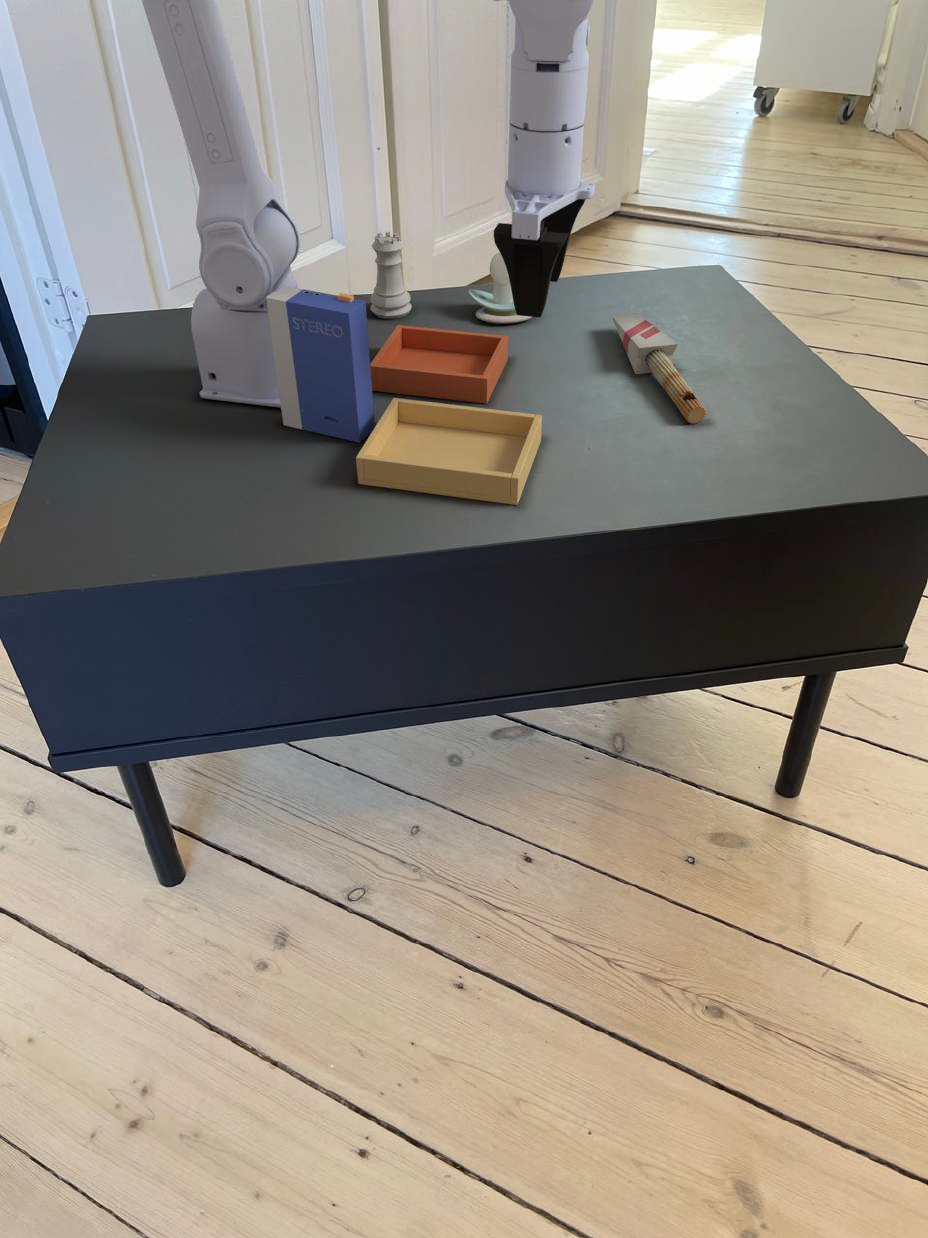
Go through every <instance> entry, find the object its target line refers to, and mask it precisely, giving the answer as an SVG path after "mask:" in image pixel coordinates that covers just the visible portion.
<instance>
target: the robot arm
mask: <svg viewBox="0 0 928 1238" xmlns="http://www.w3.org/2000/svg"><path fill="white" fill-rule="evenodd" d="M217 1H218V0H141V3H142V6H143V10H144V12H145V16H146V19H147V23H148V25H149V28H150V31H151V35H152V38H153V42H154V44H155V48H156V51H157V54H158V57H159V61H160V65H161V67H162V70H163V75H164V77H165V80H166V84H167V87H168V90H169V93H170V96H171V99H172V103H173V106H174V109H175V113H176V116H177V118H178V119H177V120H178V122H179V125H180V127H181V128H180V130H181V132H182V135H183V138H184V141H185V144H186V148H187V151H188V154H189V158H190V162H191V164H192V167H193V171H194V173H195V178H196V180H197V184H198V187H199V192H198V193H199V195H198V201H197V209H196V217H195V227H196V230H197V233H198V237H199V241H200V253H199V260H198V269H199V275H200V278H201V281H202V282H203V284H204V286H205V288H204V289H202V290H201V291H199V292H198V294H197V295H196V297H195V299H194V301H193V303H192V309H191V318H190V326H191V327H190V329H191V335H192V339H193V340H192V341H193V346H194V351H195V356H196V361H197V366H198V372H199V377H200V380H201V386H202V389H201V390H200V391H199V397H200V398H201V399H206V400H213V401H214V400H215V401H222V402H231V403H238V404H248V405H257V406H264V407H271V408H273V407H274V408H280V409H281V404H280V397H279V390H278V383H277V376H276V369H275V362H274V355H273V348H272V336H271V329H270V322H269V315H268V308H267V301H266V297H267V296H268V295H270V294H271V293H273V292H274V291H275V292H277V291H278V290H280V289H281V288H283V287H284V286H288V287H293V288H298V289H299V285H298V282H297V281H296V278H295V277H294V274H293V272H292V266H291V265H292V264H293V263H294V261H295V260H296V259H297V257H298V256H299V255H298V254H299V252H300V248H301V235H300V233H299V231H300V230H299V228H298V225H297V223H296V221H295V219H294V218H293V217H292V216H291V214H290V213H289V212H288V210H287V209H286V208H285V206H284V205H283V203H282V201H281V197H280V195H279V191H278V187H277V185H276V183H275V182H274V181H273V180H272V178H270V176H268V175H267V173H266V172H265V171H264V170H263V168H262V165H261V162H260V158H259V155H258V151H257V148H256V144H255V139H254V135H253V132H252V128H251V124H250V121H249V117H248V114H247V109H246V106H245V102H244V98H243V95H242V90H241V87H240V83H239V80H238V76H237V73H236V69H235V65H234V61H233V58H232V53H231V51H230V47H229V42H228V39H227V35H226V32H225V27H224V23H223V21H222V16H221V13H220V9H219V5H218V2H217ZM500 1H501V0H493V2H500ZM507 1H508V3H509V6H510V9H511V11H512V14H513V15H514V18H515V19H514V21H515V22H514V24H515V25H514V50H513V51H512V53H511V55H510V85H509V87H510V89H509V90H510V91H509V123H508V128H509V129H508V153H507V154H508V156H507V158H508V159H507V179H506V180H505V182H504V195H505V196H506V199H507V201H508V204H509V206H510V208H511V211H512V213H511V223H504V222H499V223H497V224H496V226H495V227H494V229H493V241H494V245H495V246H496V248H497V250H498V252H500V253H501V256H502V258H503V260H504V263H505V265H506V268H507V272H508V276H509V280H510V285H511V291H512V297H513V302H514V307H515V311H516V315H519V316H529V317H532V318H539V319H540V318H542V316H543V313H544V310H545V307H546V303H547V300H548V295H549V289H550V285H551V283H558V281H559V278H560V276H561V273H562V270H563V266H564V263H565V258H566V254H567V249H568V245H569V242H570V237H571V234H572V231H573V228H574V225H575V222H576V219H577V217H578V215H579V213H580V211H581V209H582V207H583V206H584V204H585V202H586V200H591V199H592V198H593V197H594V195H595V193H596V191H595V190H596V185H595V183H592V182H585V181H581V179H582V178H581V177H582V163H583V150H584V149H583V148H584V136H585V135H584V134H585V122H586V108H587V97H588V95H587V94H588V83H589V82H588V81H589V70H590V69H589V67H590V54H589V51H588V49H587V46H588V45H589V42H590V37H591V36H590V35H591V24H590V22H589V13H590V11H591V9H592V7H593V4H594V0H507Z"/></svg>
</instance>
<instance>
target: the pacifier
mask: <svg viewBox="0 0 928 1238" xmlns="http://www.w3.org/2000/svg"><path fill="white" fill-rule="evenodd" d="M489 274H490V277H491V278H492V280H493V289H492V290H493V291H492V292H493V293H490V292H488V291H483V290H479V289H474V288H469V289H468V295H469V296H470V298H471V299H472V300H473V301H474V302H475V303H477V304H478V305H480V306H482V307H481V308H479V309H478V310H477V311H476V312H475V317H476V318H477V319H479V320H481V321H483V322H487V323H492V324H514V323H520V322H525V321H528V320H530V319H532V318H533V317H529V316H519V315H517V314H516V311H515V307H514V302H513V297H512V291H511V285H510V280H509V276H508V272H507V268H506V265H505V263H504V260H503V258H502V256H501V253H500V251H498V252H497V253H495V255H493V257H492V258H491V260H490V263H489Z"/></svg>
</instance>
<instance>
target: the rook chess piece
mask: <svg viewBox="0 0 928 1238" xmlns="http://www.w3.org/2000/svg"><path fill="white" fill-rule="evenodd" d="M371 248H372V250H374V252H375V253H376V258H375V259H374V263H376V270H377V272H376V283H375V287H374V288H373V292H372V294H371V295H370V303H371V305H370V311H371V312H372V313H373V314H374V315H375V316H376V317H378V318H380V319H383V320H395V319H402V318H404V317H407V315H408V314H409V313H410V311H411V310H412V307H413V306H412V304H411V303H410V302H411V294H410V293H409V292H408V291H407V287H406V286H405V284H404V281H403V275H402V270H401V263H402V261H403V259H402V258H401V255H400V252H402V250H403V248H404V244H403V242H402V241H401V240H400V235H399V234H398V232H397V233H396V232H393V233H392V236H391V231H385V235H384V236H383V232H378V233H377V235H374V241H373V243H372V244H371Z"/></svg>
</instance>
